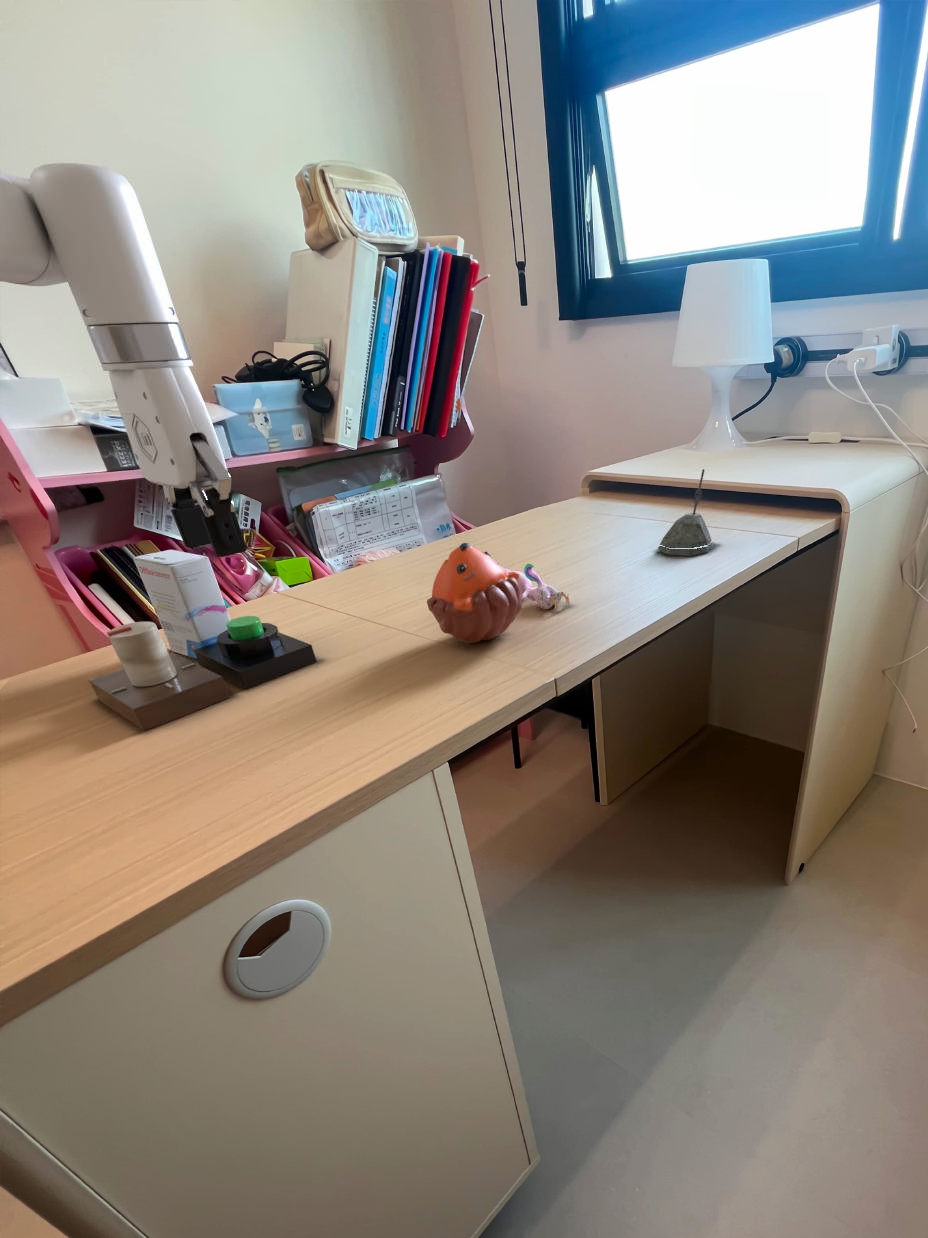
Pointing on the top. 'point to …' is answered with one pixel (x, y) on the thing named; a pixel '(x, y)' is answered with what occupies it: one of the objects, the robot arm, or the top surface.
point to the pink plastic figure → (538, 589)
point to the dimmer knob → (142, 653)
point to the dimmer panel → (161, 694)
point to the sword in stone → (688, 533)
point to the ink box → (184, 598)
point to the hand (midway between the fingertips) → (215, 547)
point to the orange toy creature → (474, 596)
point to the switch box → (255, 656)
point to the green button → (245, 627)
